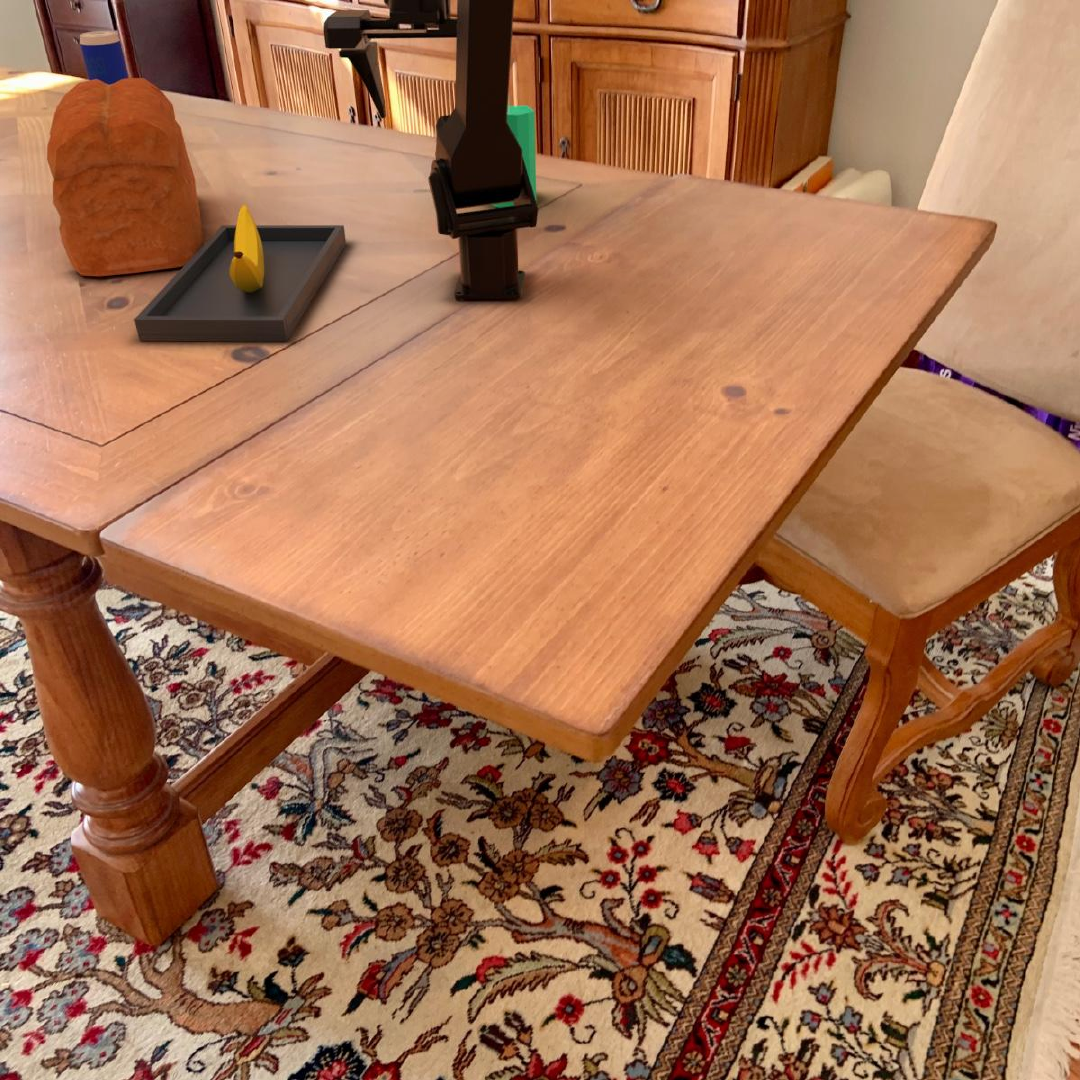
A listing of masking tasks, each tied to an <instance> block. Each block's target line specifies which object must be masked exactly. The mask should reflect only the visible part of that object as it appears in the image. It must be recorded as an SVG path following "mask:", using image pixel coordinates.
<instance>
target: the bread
mask: <svg viewBox="0 0 1080 1080" xmlns="http://www.w3.org/2000/svg"><path fill="white" fill-rule="evenodd" d="M184 138H185V137H184V135H183V131H182V127H181V125H180V124H179V123H178V121H177V120H176V113H175V110H174V105H173V103H172V102H171V100H169V98H168V97H167V96H166V95H165V94H164V92H163V91H162V90H161V89H160V88H158V87H157V86H155V84H153V83H151V82H150V81H149V80H147V79H146V78H144V77H128V78H126V79H122V80H119V81H118V82H116V83H113V84H111V85H108V84H106V83H104V82H102V81H100V80H98V79H94V80H90V81H89V80H85V81H82V82H81V81H80V82H78V83H76V84H75V85H74V86H73V87H72V88H71V89H70V90H69V91H67V92H66V93H65V94H64V95H63V96H62V98H61V100H60V102H59V103H58V104H57V105H56V107H55V111H54V113H53V117H52V123H51V126H50V131H49V139H48V142H47V145H46V146H47V147H46V161H47V164H48V167H49V170H50V173H51V175H52V178H53V180H52V204H53V206H54V208H55V210H56V212H57V213H58V215H59V220H60V223H59V226H58V227H59V228H58V229H59V234H60V238H61V239H60V240H61V243H62V246H63V249H64V250H65V253H66V255H67V257H68V259H69V261H70V264H71V266H72V268H73V269H74V271H76V272H77V273H78V274H79V275H81V276H87V277H104V276H105V277H108V276H116V275H128V274H136V273H144V272H150V271H151V272H152V271H159V270H167V269H173V268H174V269H175V268H180V267H184V266H185V264H186V263H187V262H188V261H189V260H190V259H191V258H192V257H193V256H194V255H195V254H196V253H197V252H198V251H199V250H200V248H201V247H202V246H203V245H204V239H203V233H202V221H201V211H200V206H199V200H198V199H199V198H198V192H197V185H196V177H195V174H194V171H193V167H192V165H191V161H190V158H189V154H188V151H187V147H186V142H185V139H184Z"/></svg>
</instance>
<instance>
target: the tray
mask: <svg viewBox="0 0 1080 1080" xmlns="http://www.w3.org/2000/svg"><path fill="white" fill-rule="evenodd" d="M236 225H237V224H236ZM236 225H235V224H233V225H231V224H229V225H227V224H226V225H224V224H222V225H221V226H220V227H219V228H218V229H217V230H216V231H215V232H214V233H213V234H212V235H211V236H210V237H209V239H208V240H207V241H206V242H205V243H203V246H202V247H201V248H200V250H199V251H198V252H197V253H196V254H195V255H194V256H193V257H192V258H191V259H190V260H189V261H188V262H187V263H186V264H185V265H184V266H182V268H181V269H179V270H178V271H177V272H176V274H175V275H174V276H173V277H172V278H171V279H170V280H169V281H168V282H167V284H166V285H165V286H164V287H163V288H162V289H161V290H160V291H159V292H158V293H157V294H156V295H155V296H154V298H153V299H151V300H150V302H149V303H148V304H147V305H146V306H145V307H144V308H143V310H141V311H140V312H139V313H138V315H136V316H135V317H134V319H133V321H134V325H135V329H136V332H137V336H138V340H139V341H140V342H258V343H259V342H268V343H269V342H278V343H279V342H282V343H283V342H284V343H287V342H288V340H289V338H290V337H291V335H292V334H293V332H294V331H295V329H296V327H297V325H298V324H299V322H300V321H301V319H302V317H303V316H304V315H305V313H306V311H307V309H308V308H309V306H310V305H311V303H312V301H313V299H314V298H315V296H316V294H317V293H318V291H319V289H320V288H321V286H322V284H323V283H324V281H325V279H326V278H327V277H328V276H329V275H328V274H329V273H330V272H331V270H332V268H333V266H334V265H335V263H336V262H337V260H338V258H339V257H340V255H341V253H342V252H343V250H344V248H345V247H346V245H347V239H346V233H345V226H344V224H337V225H335V224H330V225H329V224H327V225H326V224H321V225H320V224H316V225H315V224H314V225H313V224H312V225H311V224H306V225H305V224H301V225H299V224H298V225H297V224H295V225H293V224H291V225H290V224H285V225H283V224H281V225H280V224H279V225H278V224H277V225H276V224H270V225H267V224H264V225H262V224H261V225H260V224H258V225H257V224H255V225H256V227H257V230H258V233H259V236H260V239H261V244H262V249H263V258H264V278H263V285H262V288H260V289H258V290H256V291H254V292H252V293H249V292H245V291H241V290H239V289H237V287H236V285H235V284H234V282H233V281H232V279H231V277H230V274H229V271H230V266H231V263H232V260H233V258H234V239H235V231H236Z"/></svg>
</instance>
